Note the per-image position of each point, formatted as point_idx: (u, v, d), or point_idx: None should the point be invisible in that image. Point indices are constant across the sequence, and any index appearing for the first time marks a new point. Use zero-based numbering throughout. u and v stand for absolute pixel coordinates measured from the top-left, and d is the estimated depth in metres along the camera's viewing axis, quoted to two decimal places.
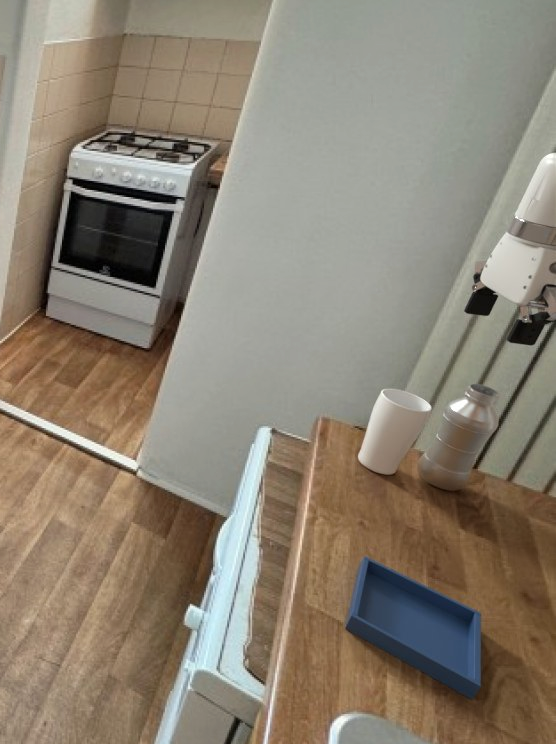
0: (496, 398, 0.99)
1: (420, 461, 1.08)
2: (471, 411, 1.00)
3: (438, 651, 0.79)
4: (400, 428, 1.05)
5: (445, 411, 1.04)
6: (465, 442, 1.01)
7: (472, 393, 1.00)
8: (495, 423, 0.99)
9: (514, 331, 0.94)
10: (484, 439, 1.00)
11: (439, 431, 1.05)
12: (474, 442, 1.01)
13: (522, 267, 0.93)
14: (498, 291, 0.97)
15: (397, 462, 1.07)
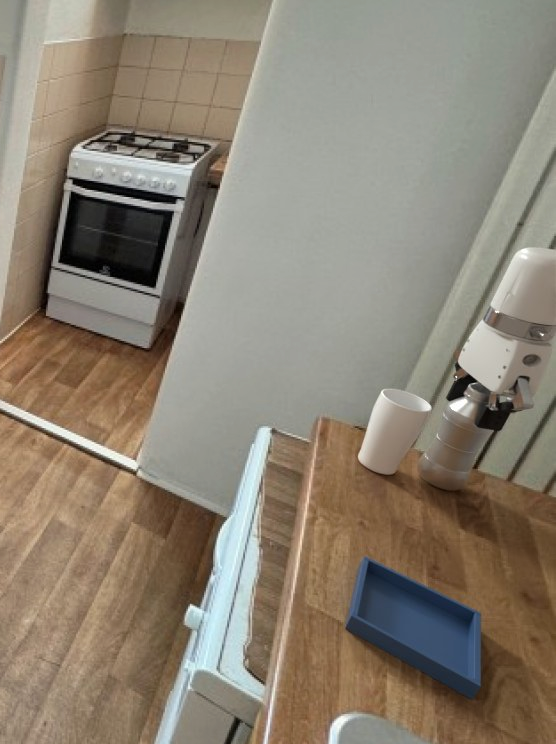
0: None
1: (420, 461, 1.08)
2: (471, 410, 1.00)
3: (438, 651, 0.79)
4: (400, 428, 1.05)
5: (445, 411, 1.04)
6: (465, 442, 1.01)
7: (472, 392, 1.01)
8: None
9: (482, 417, 0.98)
10: (484, 439, 1.00)
11: (439, 431, 1.05)
12: (473, 441, 1.01)
13: (497, 357, 0.96)
14: (475, 376, 1.00)
15: (397, 462, 1.07)
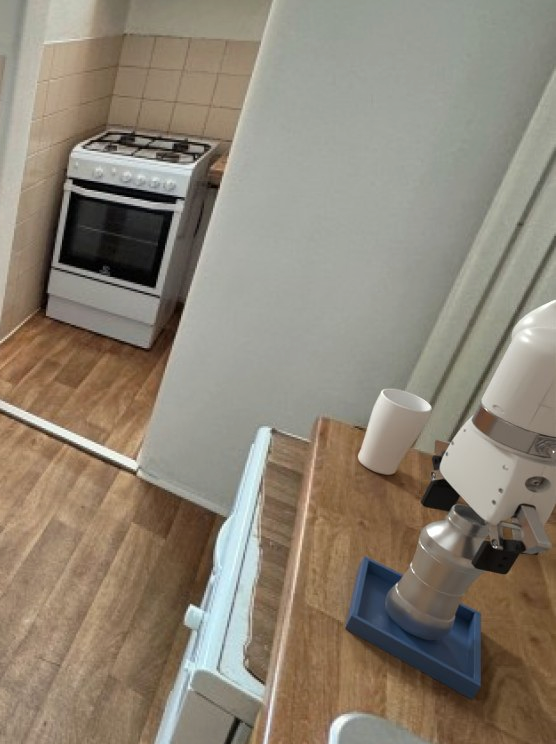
0: (488, 528, 0.73)
1: (389, 596, 0.83)
2: (455, 542, 0.75)
3: (438, 651, 0.79)
4: (400, 428, 1.05)
5: (421, 537, 0.78)
6: (446, 583, 0.76)
7: (456, 518, 0.75)
8: None
9: (480, 555, 0.71)
10: (472, 580, 0.75)
11: (413, 561, 0.80)
12: (458, 583, 0.76)
13: (490, 474, 0.70)
14: (461, 494, 0.74)
15: (397, 462, 1.07)
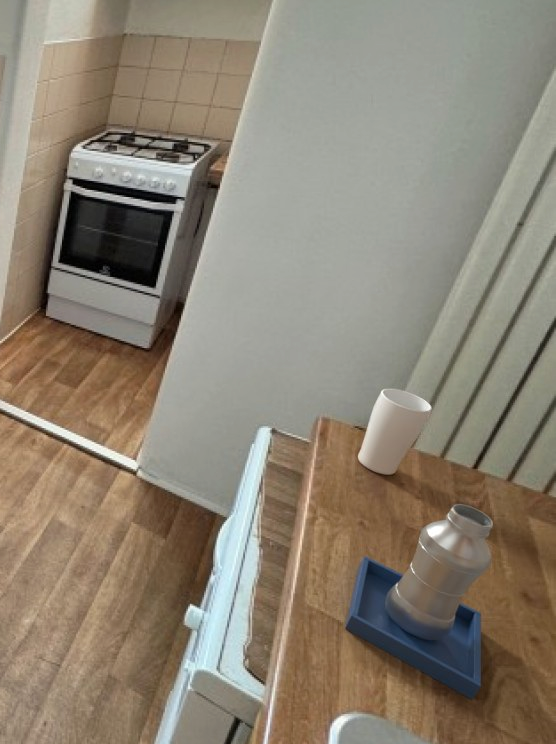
0: (488, 528, 0.73)
1: (389, 596, 0.83)
2: (455, 542, 0.75)
3: (438, 651, 0.79)
4: (400, 428, 1.05)
5: (421, 537, 0.78)
6: (447, 583, 0.76)
7: (456, 518, 0.75)
8: (487, 561, 0.74)
9: None
10: (472, 580, 0.75)
11: (413, 561, 0.80)
12: (458, 583, 0.76)
13: None
14: None
15: (397, 462, 1.07)
